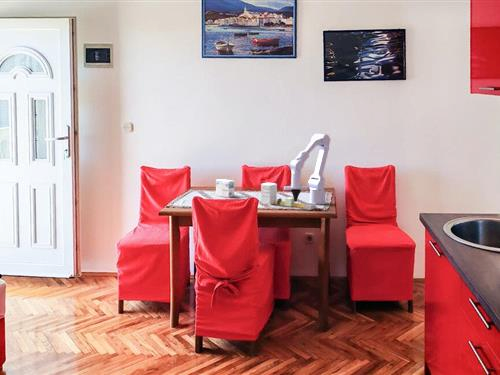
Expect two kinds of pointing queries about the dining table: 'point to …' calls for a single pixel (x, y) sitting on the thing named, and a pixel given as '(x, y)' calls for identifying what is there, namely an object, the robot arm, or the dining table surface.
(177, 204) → the dining table surface
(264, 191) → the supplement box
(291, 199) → the sleeve
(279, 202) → the pale yellow rod
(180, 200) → the dining table surface
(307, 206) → the comb
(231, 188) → the light bulb box
